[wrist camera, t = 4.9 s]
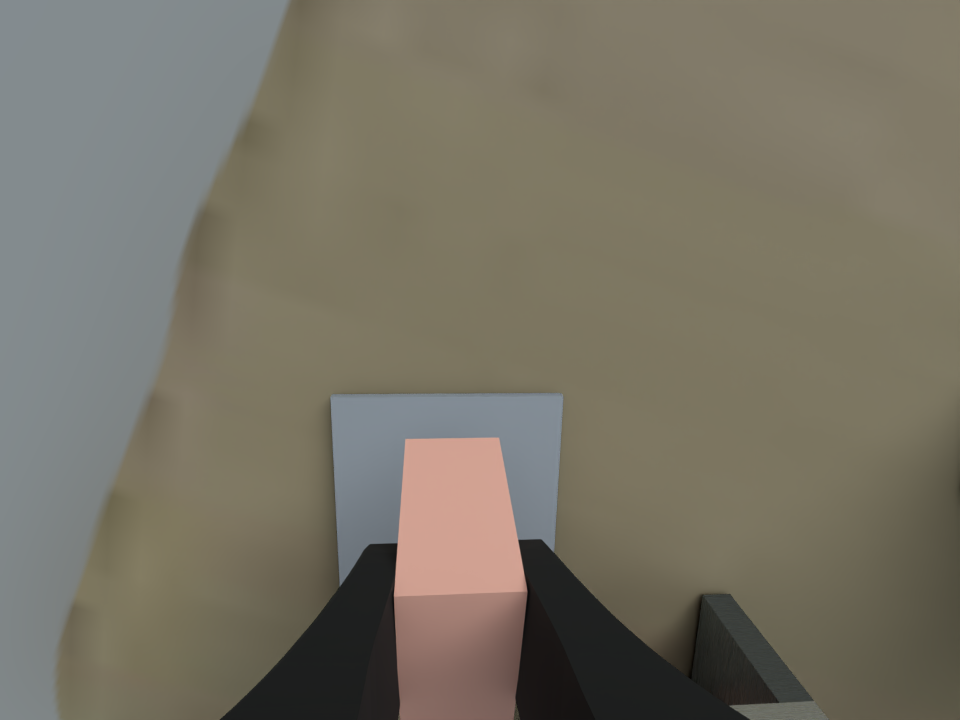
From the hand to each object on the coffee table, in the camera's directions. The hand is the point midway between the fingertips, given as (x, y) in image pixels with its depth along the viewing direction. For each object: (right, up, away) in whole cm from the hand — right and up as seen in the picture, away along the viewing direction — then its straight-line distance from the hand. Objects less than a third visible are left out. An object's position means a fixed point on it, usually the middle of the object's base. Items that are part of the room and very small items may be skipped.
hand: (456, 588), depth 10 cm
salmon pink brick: (0, -1, +3) cm, 3 cm away
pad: (-1, -1, +8) cm, 8 cm away
